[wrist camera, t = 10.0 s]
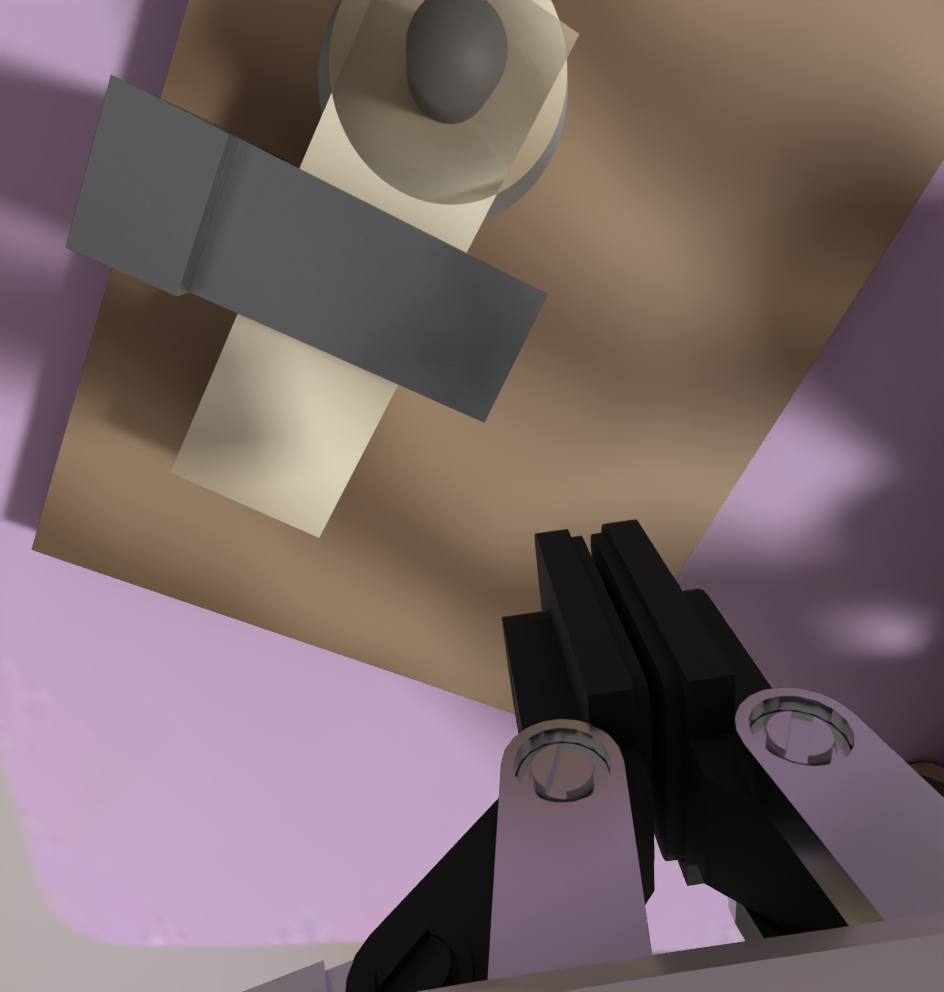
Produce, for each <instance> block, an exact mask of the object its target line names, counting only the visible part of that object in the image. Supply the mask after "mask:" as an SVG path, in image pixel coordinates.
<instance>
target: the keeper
mask: <svg viewBox="0 0 944 992" xmlns="http://www.w3.org/2000/svg"><path fill="white" fill-rule="evenodd" d="M282 159H283V158H282V157H280V156H278V155H276V154H274V153H272V152H270V151H268V150H266V149H264V148H262V147H260V146H258V145H256V144H254V143H252V142H250V141H248V140H246V139H244V138H242V137H240V136H238V135H236V134H234V133H232V132H230V131H229V130H227V129H225V128H223V127H221V126H219V125H217V124H215V123H213V122H211V121H209V120H207V119H205V118H203V117H201V116H198V115H196V114H194V113H192V112H190V111H188V110H186V109H183V108H181V107H179V106H177V105H175V104H173V103H171V102H169V101H166V100H164V99H162V98H160V97H158V96H156V95H154V94H151V93H149V92H147V91H145V90H143V89H141V88H139V87H136V86H134V85H132V84H130V83H128V82H126V81H124V80H121V79H119V78H117V77H115V76H113V75H111V76H110V80H109V84H108V88H107V91H106V95H105V99H104V103H103V107H102V111H101V114H100V118H99V122H98V126H97V130H96V134H95V137H94V141H93V145H92V149H91V153H90V156H89V160H88V164H87V168H86V172H85V176H84V179H83V183H82V187H81V191H80V195H79V199H78V202H77V206H76V210H75V214H74V218H73V221H72V225H71V229H70V233H69V237H68V241H67V244H66V248H68V249H70V250H73V251H75V252H77V253H79V254H82V255H84V256H86V257H89V258H91V259H93V260H95V261H98V262H100V263H102V264H104V265H107V266H109V267H111V268H113V269H116V270H118V271H120V272H123V273H125V274H127V275H129V276H132V277H134V278H136V279H138V280H141V281H143V282H145V283H148V284H150V285H152V286H154V287H157V288H159V289H161V290H163V291H166V292H168V293H170V294H172V295H175V296H179V295H182V294H185V293H188V292H191V293H193V294H195V295H197V296H200V297H202V298H204V299H206V300H209V301H211V302H213V303H215V304H218V305H220V306H222V307H224V308H227V309H229V310H231V311H233V312H236V313H238V314H240V315H242V316H245V317H247V318H249V319H251V320H254V321H256V322H258V323H260V324H263V325H265V326H267V327H269V328H272V329H274V330H276V331H278V332H281V333H283V334H285V335H287V336H290V337H292V338H294V339H296V340H299V341H301V342H303V343H305V344H308V345H310V346H312V347H314V348H317V349H319V350H321V351H323V352H326V353H328V354H330V355H333V356H335V357H337V358H339V359H342V360H344V361H346V362H348V363H351V364H353V365H355V366H357V367H360V368H362V369H364V370H366V371H369V372H371V373H373V374H375V375H378V376H380V377H382V378H384V379H387V380H389V381H391V382H393V383H396V384H398V385H400V386H402V387H405V388H407V389H409V390H411V391H414V392H416V393H418V394H420V395H423V396H425V397H427V398H429V399H432V400H434V401H436V402H438V403H441V404H443V405H445V406H447V407H450V408H452V409H454V410H456V411H459V412H461V413H463V414H465V415H468V416H470V417H472V418H474V419H477V420H479V421H481V422H483V423H485V421H486V419H487V417H488V415H489V413H490V411H491V409H492V407H493V405H494V403H495V401H496V399H497V397H498V395H499V392H500V390H501V388H502V386H503V384H504V382H505V380H506V378H507V376H508V374H509V372H510V370H511V368H512V366H513V364H514V362H515V360H516V358H517V356H518V354H519V352H520V350H521V348H522V346H523V344H524V342H525V340H526V338H527V336H528V334H529V332H530V330H531V328H532V326H533V324H534V322H535V320H536V318H537V316H538V314H539V312H540V310H541V308H542V306H543V304H544V302H545V300H546V298H547V296H548V294H547V293H545V292H543V291H542V290H540V289H538V288H536V287H534V286H532V285H530V284H528V283H526V282H524V281H522V280H520V279H518V278H516V277H514V276H512V275H510V274H508V273H506V272H504V271H502V270H500V269H498V268H496V267H494V266H492V265H490V264H489V263H487V262H485V261H483V260H481V259H479V258H477V257H475V256H473V255H471V254H469V253H467V252H465V251H463V250H461V249H459V248H457V247H455V246H453V245H451V244H449V243H447V242H445V241H443V240H441V239H439V238H437V237H435V236H433V235H431V234H429V233H427V232H425V231H423V230H421V229H419V228H417V227H415V226H413V225H411V224H409V223H407V222H405V221H403V220H401V219H399V218H397V217H395V216H393V215H391V214H389V213H387V212H385V211H383V210H381V209H379V208H377V207H375V206H374V205H372V204H370V203H368V202H366V201H364V200H362V199H360V198H358V197H356V196H354V195H352V194H350V193H348V192H346V191H344V190H342V189H340V188H338V187H336V186H334V185H332V184H330V183H328V182H326V181H324V180H322V179H320V178H318V177H316V176H314V175H312V174H310V173H308V172H306V171H304V170H302V169H300V168H298V167H296V166H294V165H292V164H290V163H288V162H286V161H284V160H282Z"/></svg>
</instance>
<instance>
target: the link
mask: <svg viewBox="0 0 944 992" xmlns="http://www.w3.org/2000/svg"><path fill="white" fill-rule="evenodd" d="M578 36H579V34H578V33H577V32H576V31H574V30H573V29H571V28H570V27H568V26H567V25H566V24H564V23H563V22H561V21H560V20H559V18H558V16H557V13H556V10H555V8H554V5H553V3H552V1H551V0H342V2H341V4H340V6H339V9H338V12H337V15H336V18H335V21H334V25H333V30H332V35H331V40H330V51H329V78H330V85H331V92H332V93H331V95H330V98H329V100H328V102H327V105H326V107H325V110H324V112H323V114H322V117H321V119H320V121H319V124H318V126H317V128H316V131H315V133H314V135H313V138H312V140H311V143H310V145H309V147H308V150H307V152H306V154H305V157H304V159H303V161H302V164H301V166H300V169H302V170H304V171H306V172H308V173H310V174H312V175H314V176H316V177H318V178H320V179H322V180H324V181H326V182H328V183H330V184H332V185H334V186H336V187H338V188H340V189H342V190H344V191H346V192H348V193H350V194H352V195H354V196H356V197H358V198H360V199H362V200H364V201H366V202H368V203H370V204H372V205H374V206H375V207H377V208H379V209H381V210H383V211H385V212H387V213H389V214H391V215H393V216H395V217H397V218H399V219H401V220H403V221H405V222H407V223H409V224H411V225H413V226H415V227H417V228H419V229H421V230H423V231H425V232H427V233H429V234H431V235H433V236H435V237H437V238H439V239H441V240H443V241H445V242H447V243H449V244H451V245H453V246H455V247H457V248H459V249H461V250H463V251H465V252H467V251H468V249H469V247H470V245H471V243H472V241H473V239H474V237H475V235H476V234H477V232H478V230H479V228H480V226H481V224H482V222H483V220H484V218H485V216H486V214H487V212H488V210H489V208H490V206H491V204H492V203H493V201H494V199H495V197H496V195H497V194H498V193H500V192H502V191H503V190H505V189H507V188H509V187H510V186H511V185H513V184H514V183H515V182H517V181H518V180H519V179H521V178H522V177H523V176H524V175H525V174H526V173H527V172H528V171H529V170H530V169H531V168H532V167H533V166H534V164H535V163H536V162H537V160H538V159H539V158H540V157H541V155H542V154H543V152H544V151H545V149H546V147H547V146H548V144H549V142H550V141H551V138H552V136H553V134H554V132H555V130H556V127H557V125H558V122H559V119H560V116H561V112H562V109H563V104H564V99H565V94H566V85H567V57H568V56H569V54H570V52H571V50H572V48H573V46H574V44H575V42H576V40H577V38H578ZM397 386H398V384H396V383H393V382H391V381H389V380H387V379H384V378H382V377H380V376H378V375H375V374H373V373H371V372H369V371H366V370H364V369H362V368H360V367H357V366H355V365H353V364H351V363H348V362H346V361H344V360H342V359H339V358H337V357H335V356H333V355H330V354H328V353H326V352H323V351H321V350H319V349H317V348H314V347H312V346H310V345H308V344H305V343H303V342H301V341H299V340H296V339H294V338H292V337H290V336H287V335H285V334H283V333H281V332H278V331H276V330H274V329H272V328H269V327H267V326H265V325H263V324H260V323H258V322H256V321H254V320H251V319H249V318H247V317H245V316H242V315H240V314H237V317H236V319H235V322H234V324H233V326H232V329H231V331H230V333H229V336H228V338H227V340H226V343H225V345H224V347H223V350H222V352H221V355H220V357H219V359H218V362H217V364H216V366H215V369H214V371H213V373H212V376H211V378H210V380H209V383H208V385H207V388H206V390H205V392H204V395H203V397H202V399H201V402H200V404H199V406H198V409H197V411H196V413H195V416H194V418H193V421H192V423H191V425H190V428H189V430H188V432H187V435H186V437H185V439H184V442H183V444H182V446H181V449H180V451H179V453H178V456H177V458H176V461H175V463H174V465H173V468H172V470H171V472H170V473H172V474H175V475H177V476H179V477H181V478H184V479H186V480H188V481H191V482H193V483H195V484H197V485H200V486H202V487H204V488H207V489H209V490H211V491H213V492H216V493H218V494H220V495H223V496H225V497H227V498H229V499H232V500H234V501H236V502H238V503H241V504H243V505H245V506H248V507H250V508H252V509H254V510H257V511H259V512H261V513H264V514H266V515H268V516H270V517H273V518H275V519H277V520H280V521H282V522H284V523H286V524H289V525H291V526H293V527H296V528H298V529H300V530H302V531H305V532H307V533H309V534H311V535H314V536H316V537H318V538H319V537H320V535H321V533H322V531H323V529H324V528H325V526H326V524H327V522H328V520H329V518H330V516H331V514H332V512H333V510H334V508H335V506H336V504H337V502H338V500H339V499H340V497H341V495H342V493H343V491H344V489H345V487H346V485H347V483H348V481H349V479H350V477H351V475H352V473H353V471H354V469H355V468H356V466H357V464H358V462H359V460H360V458H361V456H362V454H363V452H364V450H365V448H366V446H367V444H368V442H369V440H370V439H371V437H372V435H373V433H374V431H375V429H376V427H377V425H378V423H379V421H380V419H381V417H382V415H383V413H384V411H385V410H386V408H387V406H388V404H389V402H390V400H391V398H392V396H393V394H394V392H395V390H396V388H397Z"/></svg>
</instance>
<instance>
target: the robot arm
mask: <svg viewBox="0 0 944 992" xmlns="http://www.w3.org/2000/svg"><path fill="white" fill-rule="evenodd" d="M590 543H591V554H590V552H589V550H588V547H587V545H586V543H585V541H584V539H583V537H582V536H575V537H571V535H570V532H569V530H568V529H563V530H556V531H549V532H542V533H535V551H536V560H537V570H538V580H539V590H540V600H541V610H542V611H540V612H533V613H526V614H519V615H512V616H505V617H502V625H503V633H504V641H505V649H506V656H507V664H508V671H509V678H510V685H511V691H512V698H513V704H514V710H515V716H516V722H517V727H518V733H519V734H518V735H517V736H515V737H514V738H513V739H512V741H511V742H510V743H509V745H508V746H507V748H506V749H505V751H504V754H503V758H502V762H501V770H500V787H499V798H498V799H497V800H496V801H495V802H494V804H493V805H492V806H491V807H490V808H489V809H488V810H487V811H486V812H485V813H484V814H483V815H482V816H481V817H480V818H479V819H478V821H477V822H476V823H475V824H474V825H473V826H472V827H471V828H470V829H469V830H468V831H467V832H466V833H465V834H464V835H463V837H462V838H461V839H460V840H459V841H458V842H457V843H456V844H455V845H454V846H453V847H452V848H451V849H450V850H449V851H448V852H447V854H446V855H445V856H444V857H443V858H442V859H441V860H440V861H439V862H438V863H437V864H436V865H435V866H434V867H433V868H432V870H431V871H430V872H429V873H428V874H427V875H426V876H425V877H424V878H423V879H422V880H421V881H420V882H419V883H418V884H417V886H416V887H415V888H414V889H413V890H412V891H411V892H410V893H409V894H408V895H407V896H406V897H405V898H404V899H403V900H402V901H401V903H400V904H399V905H398V906H397V907H396V908H395V909H394V910H393V911H392V912H391V913H390V914H389V915H388V916H387V917H386V919H385V920H384V921H383V922H382V923H381V924H380V925H379V926H378V927H377V928H376V929H375V930H374V931H373V932H372V933H371V934H370V936H369V937H368V938H367V940H366V941H365V943H364V944H363V945H362V947H361V948H360V950H359V951H358V952H357V954H356V955H355V958H354V960H352V961H349V962H347V963H344V964H342V965H339V966H336V967H334V968H331V969H329V970H327V969H326V966H325V964H324V961H321V962H318V963H316V964H313V965H311V966H308V967H305V968H303V969H300V970H298V971H295V972H292V973H290V974H287V975H285V976H282V977H279V978H277V979H275V980H272V981H269V982H267V983H264V984H261V985H259V986H256V987H254V988H251V989H249V990H246V991H244V992H944V783H942V782H940V781H937V780H934V779H932V778H929V777H927V776H924V775H921V774H919V773H917V772H916V771H915V770H914V769H913V768H912V767H911V766H909V765H908V764H907V763H906V762H905V761H904V760H903V759H902V758H901V757H900V756H899V755H898V754H897V753H896V752H895V751H894V750H893V749H891V748H890V747H889V746H888V745H887V744H886V743H885V742H884V741H883V740H882V739H881V738H880V737H879V736H878V735H877V734H876V733H875V732H874V731H872V730H871V729H870V728H869V727H868V726H867V725H866V724H865V723H864V722H863V721H862V720H861V719H860V718H859V717H858V716H857V715H856V714H854V713H853V712H852V711H850V710H849V709H848V708H846V707H845V706H844V705H842V704H841V703H840V702H838V701H835V700H833V699H831V698H829V697H827V696H825V695H823V694H820V693H816V692H812V691H808V690H805V689H799V688H785V687H780V688H773V689H772V687H771V686H770V685H769V683H768V682H767V680H766V679H765V677H764V676H763V674H762V673H761V672H760V670H759V669H758V667H757V666H756V664H755V663H754V661H753V660H752V658H751V657H750V656H749V654H748V653H747V651H746V650H745V648H744V647H743V645H742V644H741V642H740V641H739V640H738V638H737V637H736V635H735V634H734V632H733V631H732V629H731V628H730V627H729V625H728V624H727V622H726V621H725V619H724V618H723V616H722V615H721V613H720V612H719V611H718V609H717V608H716V606H715V605H714V603H713V602H712V600H711V599H710V598H709V596H708V595H707V594H706V593H705V592H704V590H701V589H694V590H687V591H682V589H681V588H680V586H679V585H678V583H677V581H676V580H675V578H674V577H673V575H672V574H671V572H670V570H669V569H668V567H667V566H666V564H665V563H664V561H663V559H662V558H661V556H660V555H659V553H658V552H657V550H656V548H655V547H654V545H653V544H652V542H651V540H650V539H649V537H648V536H647V534H646V533H645V531H644V529H643V528H642V526H641V525H640V523H639V522H638V521H637V519H633V520H626V521H619V522H612V523H605V524H602V527H601V533H596V534H591V538H590ZM654 834H655V837H656V840H657V843H658V846H659V848H660V851H661V854H662V856H663V858H664V860H665V861H672V860H678V863H679V865H680V868H681V871H682V873H683V876H684V879H685V881H686V884H687V886H690V885H696V884H703V883H705V884H706V885H708V886H710V887H712V888H713V889H715V890H717V891H719V892H720V893H722V894H724V895H726V896H727V897H728V905H729V910H730V912H731V914H732V917H733V919H734V922H735V924H736V926H737V927H738V929H739V931H740V933H741V934H742V936H743V938H744V939H745V941H744V942H738V943H731V944H724V945H717V946H710V947H703V948H696V949H690V950H683V951H677V952H670V953H663V954H657V955H652V949H651V943H650V936H649V929H648V922H647V915H646V908H645V905H646V903H647V902H648V900H649V898H650V897H651V895H652V894H653V892H654V891H655V890H654V858H655V857H654Z"/></svg>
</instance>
